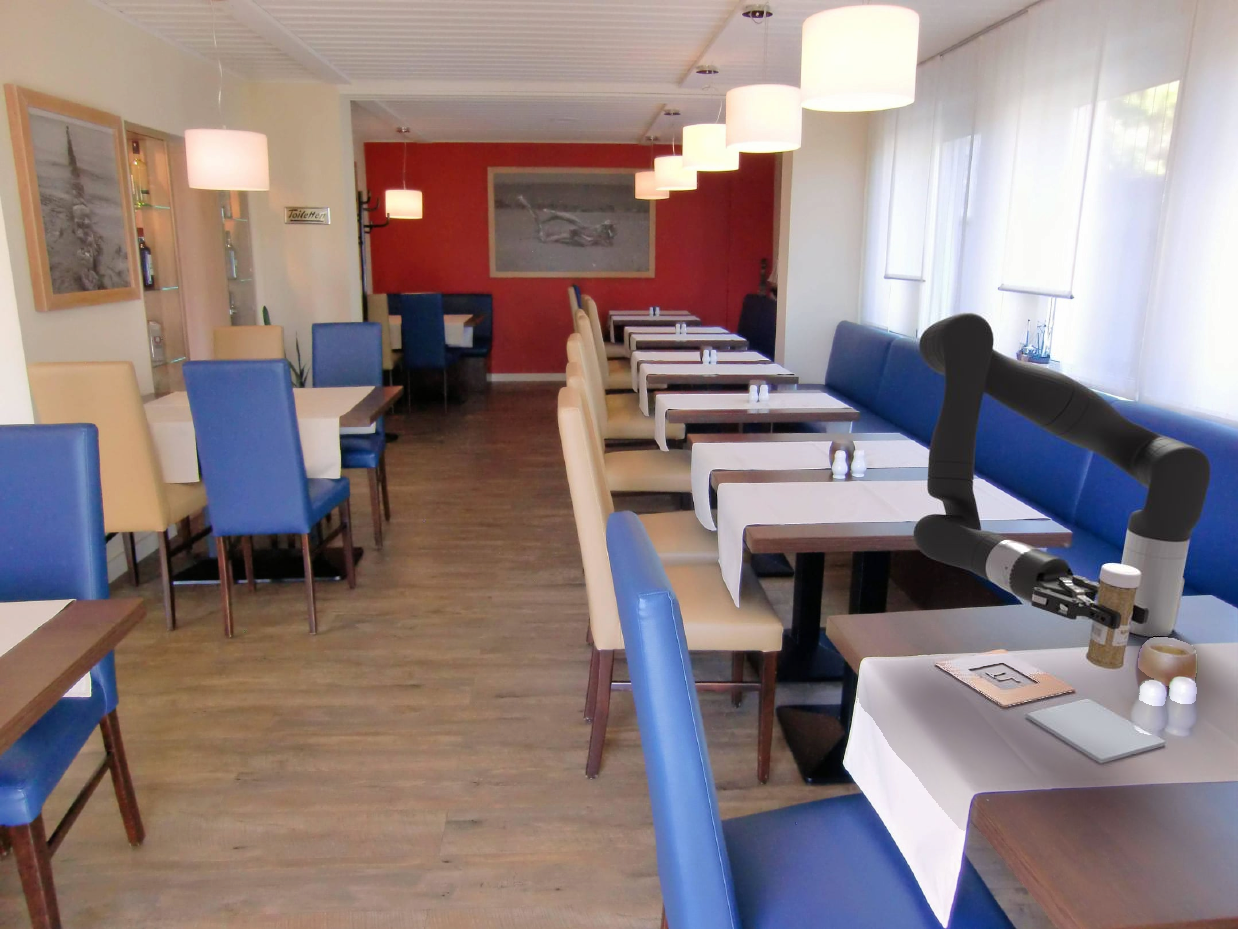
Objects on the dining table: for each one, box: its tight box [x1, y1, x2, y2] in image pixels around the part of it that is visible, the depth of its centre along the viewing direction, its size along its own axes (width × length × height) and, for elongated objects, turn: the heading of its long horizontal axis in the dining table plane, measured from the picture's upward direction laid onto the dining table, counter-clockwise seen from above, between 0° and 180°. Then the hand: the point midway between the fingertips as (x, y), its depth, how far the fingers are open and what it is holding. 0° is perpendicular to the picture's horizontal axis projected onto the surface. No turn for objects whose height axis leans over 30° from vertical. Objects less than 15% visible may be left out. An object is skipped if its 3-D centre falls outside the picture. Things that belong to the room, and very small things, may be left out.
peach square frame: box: [936, 648, 1076, 708], centre depth 135 cm, size 14×14×1 cm
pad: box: [1025, 698, 1166, 765], centre depth 120 cm, size 12×12×1 cm
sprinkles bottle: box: [1085, 562, 1141, 670], centre depth 116 cm, size 5×5×14 cm
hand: (1132, 619), depth 114 cm, fingers closed on sprinkles bottle, 4 cm apart
